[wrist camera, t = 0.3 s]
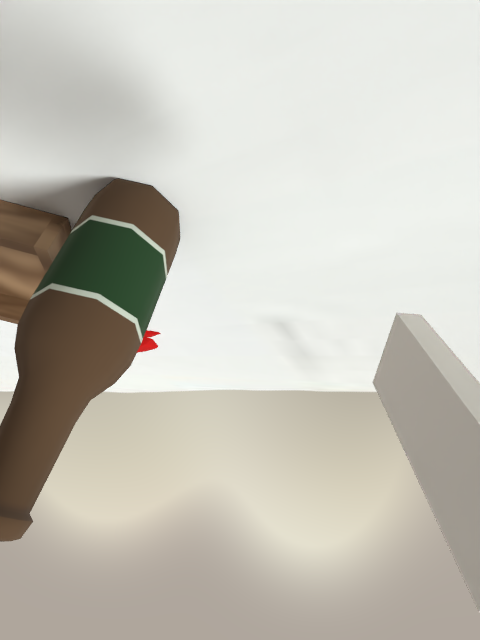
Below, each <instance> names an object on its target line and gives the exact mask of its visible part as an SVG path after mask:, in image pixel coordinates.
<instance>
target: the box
mask: <svg viewBox="0 0 480 640" xmlns="http://www.w3.org/2000/svg"><path fill="white" fill-rule="evenodd" d="M71 231H72V230H71V227H70V224H69V220H68V218H65V217H62V216H58V215H54V214H51V213H47V212H43V211H40V210H36V209H32V208H28V207H25V206H21V205H17V204H14V203H10V202H6V201H3V200H0V320H3V321H7V322H11V323H15V324H18V323H19V320H20V318H21V316H22V314H23V312H24V310H25V308H26V306H27V304H28V302H29V300H30V298H31V297H32V295H33V293H34V292H35V290H36V289H37V287H38V285H39V284H40V282H41V280H42V279H43V277H44V275H45V274H46V272H47V270H48V269H49V267H50V266H51V264H52V262H53V261H54V259H55V257H56V256H57V254H58V252H59V251H60V249H61V248H62V246H63V244H64V243H65V241H66V239H67V238H68V236H69V234H70V233H71Z"/></svg>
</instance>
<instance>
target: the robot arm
mask: <svg viewBox="0 0 480 640" xmlns="http://www.w3.org/2000/svg"><path fill="white" fill-rule="evenodd" d="M373 384H374V386H375V388H376V391H377V393H378V395H379V397H380V399H381V401H382V404H383V406H384V408H385V410H386V412H387V414H388V417H389V419H390V421H391V423H392V425H393V427H394V430H395V432H396V434H397V436H398V438H399V440H400V443H401V445H402V447H403V449H404V451H405V453H406V456H407V458H408V460H409V462H410V464H411V466H412V468H413V471H414V473H415V475H416V477H417V479H418V482H419V484H420V486H421V488H422V490H423V492H424V494H425V497H426V499H427V501H428V503H429V505H430V507H431V510H432V512H433V514H434V516H435V518H436V521H437V523H438V525H439V527H440V529H441V531H442V534H443V536H444V538H445V540H446V542H447V544H448V546H449V549H450V551H451V553H452V555H453V557H454V560H455V562H456V564H457V566H458V568H459V570H460V573H461V575H462V577H463V579H464V581H465V583H466V586H467V588H468V590H469V592H470V594H471V596H472V598H473V600H474V603H475V605H476V607H477V609H478V611H479V613H480V383H479V382H478V381H477V380H476V378H475V377H474V376H473V375H472V374H471V373H470V371H469V370H468V369H467V368H466V367H465V366H464V364H463V363H462V362H461V361H460V360H459V359H458V357H457V356H456V355H455V354H454V353H453V352H452V350H451V349H450V348H449V347H448V346H447V344H446V343H445V342H444V341H443V340H442V339H441V337H440V336H439V335H438V334H437V333H436V332H435V330H434V329H433V328H432V327H431V326H430V325H429V323H428V322H427V321H426V320H425V319H424V318H423V316H422V315H418V314H406V313H396V316H395V319H394V322H393V325H392V328H391V331H390V333H389V336H388V339H387V342H386V345H385V348H384V351H383V354H382V357H381V360H380V363H379V366H378V369H377V371H376V374H375V377H374V380H373Z"/></svg>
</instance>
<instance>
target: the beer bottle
mask: <svg viewBox="0 0 480 640" xmlns="http://www.w3.org/2000/svg"><path fill="white" fill-rule="evenodd" d="M179 241H180V226H179V212H178V210H177V209H176V208H175V207H174V206H173V205H172V204H171V203H170V202H169V201H168V200H167V199H166V198H164V197H163V196H162V195H161V194H160V193H159V192H158V191H157V190H156V189H155V188H154V187H153V186H150V185H146V184H141V183H137V182H132V181H128V180H123V179H119V178H117V179H115V180H113V181H112V182H111V183H110V184H108V185H107V186H106V187H105V188H103V189H102V190H101V191H100V192H98V193H97V194H96V195H95V196H94V197H93V199H92V200H91V201H90V203H89V204H88V206H87V207H86V208H85V210H84V211H83V213H82V215H81V216H80V218H79V220H78V221H77V223H76V225H75V226H74V228H73V229H72V231H71V233H70V234H69V236H68V238H67V239H66V241H65V243H64V244H63V246H62V248H61V249H60V251H59V252H58V254H57V256H56V257H55V259H54V261H53V262H52V264H51V266H50V267H49V269H48V270H47V272H46V274H45V275H44V277H43V279H42V280H41V282H40V284H39V285H38V287H37V289H36V290H35V292H34V293H33V295H32V297H31V298H30V300H29V302H28V304H27V306H26V308H25V310H24V312H23V314H22V316H21V318H20V320H19V323H18V327H17V334H16V341H15V354H16V360H17V367H18V373H19V379H18V382H17V385H16V388H15V391H14V395H13V398H12V401H11V404H10V406H9V408H8V410H7V412H6V414H5V416H4V419H3V421H2V423H1V425H0V541H13V540H17V539H20V538H21V537H22V536H23V534H24V533H25V532H26V530H27V529H28V528H29V526H30V525H31V523H32V522H33V520H32V518H31V516H30V514H29V513H30V511H31V510H32V507H33V506H34V504H35V502H36V500H37V498H38V496H39V494H40V492H41V490H42V488H43V486H44V484H45V482H46V480H47V478H48V476H49V474H50V472H51V470H52V468H53V466H54V464H55V462H56V460H57V458H58V456H59V454H60V452H61V451H62V448H63V447H64V445H65V442H66V441H67V439H68V437H69V435H70V433H71V431H72V429H73V426H74V425H75V423H76V421H77V420H78V418H79V417H80V415H81V414H82V412H83V410H84V409H85V408H86V406H87V405H88V403H89V401H90V400H91V399H93V398H94V397H96V396H97V395H99V394H100V393H101V392H103V391H104V390H106V389H107V388H109V387H110V386H112V385H113V384H114V383H115V382H116V381H117V380H118V379H119V378H120V377H121V376H122V375H123V373H124V372H125V371H126V370H127V369H128V368H129V367H130V366H131V363H132V361H133V359H134V357H135V355H136V353H137V351H138V349H139V347H140V345H141V343H142V340H143V337H144V335H145V332H146V330H147V327H148V324H149V322H150V319H151V317H152V314H153V311H154V309H155V306H156V304H157V301H158V298H159V296H160V293H161V291H162V288H163V285H164V283H165V280H166V278H167V275H168V272H169V270H170V267H171V265H172V262H173V259H174V257H175V254H176V251H177V248H178V244H179Z"/></svg>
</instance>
